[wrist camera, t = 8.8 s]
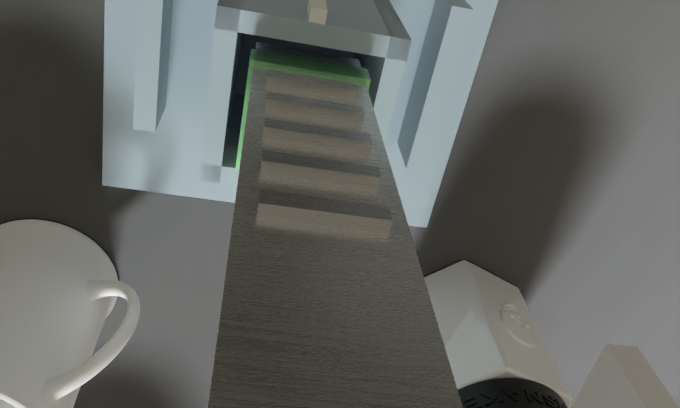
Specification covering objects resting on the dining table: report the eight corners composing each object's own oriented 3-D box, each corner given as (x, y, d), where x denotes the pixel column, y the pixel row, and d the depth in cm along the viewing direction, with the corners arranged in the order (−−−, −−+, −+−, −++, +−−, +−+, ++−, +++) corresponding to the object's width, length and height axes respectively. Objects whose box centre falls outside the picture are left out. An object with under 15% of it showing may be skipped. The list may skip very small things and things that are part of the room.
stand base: (107, 174, 35) (57, 274, 27) (114, -210, 26) (43, -220, 19) (422, 216, 38) (457, 318, 30) (525, -116, 29) (611, -92, 21)
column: (227, 147, 27) (129, 700, 10) (242, 23, 24) (144, 490, 7) (349, 165, 27) (448, 702, 11) (377, 47, 25) (561, 514, 8)
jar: (545, 297, 42) (629, 452, 32) (468, 376, 45) (521, 540, 35) (437, 240, 39) (491, 391, 29) (362, 329, 42) (387, 493, 32)
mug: (135, 187, 36) (74, 336, 25) (191, 301, 40) (158, 467, 30) (-62, 239, 37) (-197, 404, 26) (14, 345, 41) (-76, 522, 31)
